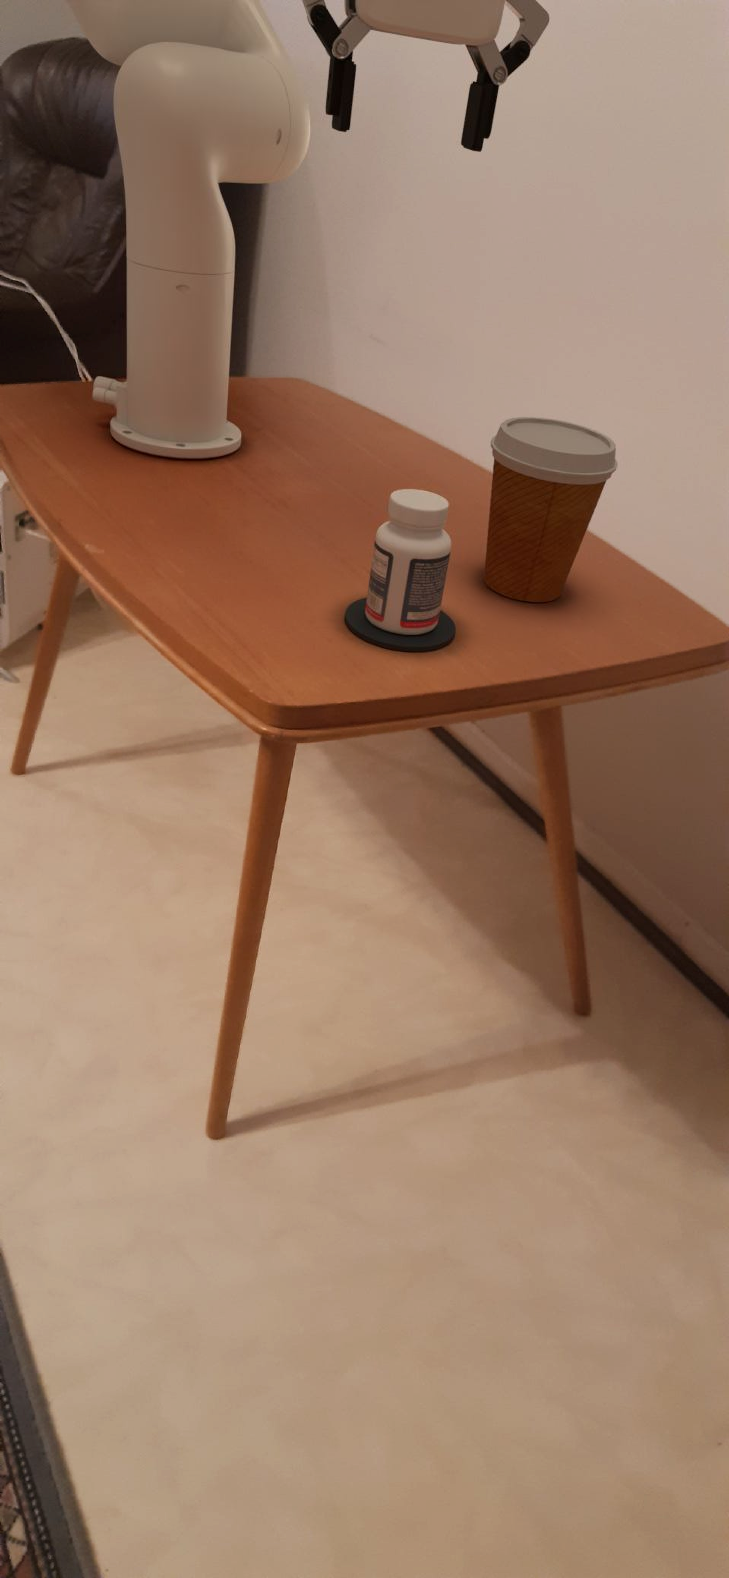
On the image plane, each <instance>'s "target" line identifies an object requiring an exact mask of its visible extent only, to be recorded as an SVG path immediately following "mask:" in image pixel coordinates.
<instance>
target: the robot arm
mask: <svg viewBox="0 0 729 1578" xmlns="http://www.w3.org/2000/svg"><path fill="white" fill-rule="evenodd" d="M301 1H302V5H303V8H304V10H305V13H306V15H307V16H306V18H307V21H308V24H309V25H310V27H311V28H312V30H313V31H314V33H315V34H316V37H317V38H318V40H319V42H320V43H321V45H322V46H323V48H324V49H325V53H326V55H328V57H329V66H328V77H327V87H326V98H325V115H327V116H332V117H331V128H332V129H333V130H335V131H338V132H342V133H347V132H348V131H350V129H351V122H352V113H353V104H354V96H355V95H354V94H355V84H356V75H357V73H356V72H357V64H356V63H355V61H353V56H354V50H355V49H356V48H357V47H358V45H359V44H360V43H361V42H362V41H363V40H364V38H365V37H366V36H367V35H368V34H369V33H370V32H371V31H374V32H379V33H385V34H390V35H396V36H402V37H408V38H413V39H420V40H426V41H432V42H436V43H437V42H438V43H443V44H448V45H449V44H450V45H462V46H463V45H465V47H466V50H467V52H468V54H469V56H470V59H471V61H472V63H473V66H474V69H475V70H476V72H477V75H476V80H475V81H474V80H473V81H472V82H471V83H470V84H469V88H468V89H469V90H468V95H467V102H466V108H465V113H464V120H463V127H462V133H461V140H460V145H461V146H462V148H464V149H466V150H469V151H472V152H478V153H481V152H482V151H483V147H484V140H489V138H490V136H491V134H492V130H493V123H494V118H495V113H496V106H497V101H498V95H499V89H500V86H502V85H504V84H505V82H506V81H507V79H508V78H509V77H510V75H512V74H513V73H514V72H515V71H516V70H517V69H518V68H519V67H520V66H521V65H523V64H524V63H525V62H526V61H527V60H528V59H529V57H530V55H531V51H532V50H533V48H534V47H535V46H536V44H537V43H538V42H539V40H540V38H541V36H542V35H543V34H544V31H545V30H546V29H547V27H548V25H549V23H550V14H549V13H548V11H547V10H546V9H545V8H544V7H543V6H542V5H541V4H540V3H539V2H538V1H537V0H344V3H343V4H344V5H343V6H344V12H345V15H346V18H345V19H344V20H343V21H342V22H341V23H340V25H338V24H337V22H336V21H335V19H334V17H333V16H332V14H331V13H330V11H329V9H328V8H327V5H326V1H325V0H301ZM66 3H67V5H68V6H69V9H70V10H71V12H72V13H73V16H74V18H75V19H76V22H77V23H78V25H79V27H80V29H81V30H82V32H83V34H84V35H85V37H86V39H87V40H88V42H89V44H90V46H91V47H92V48H93V49H94V50H95V51H96V52H97V54H99V56H101V57H102V58H103V59H105V60H106V61H107V62H110V63H112V64H114V65H116V66H119V67H120V68H119V70H118V73H117V76H116V79H115V83H114V87H113V101H112V103H113V116H114V117H113V118H114V125H115V132H116V137H117V142H118V148H119V155H120V160H121V168H122V177H123V186H124V197H125V198H124V199H125V225H126V227H125V228H126V229H125V230H126V233H125V235H126V380H125V381H123V382H121V381H117V380H116V379H114V378H109V377H106V376H101V375H99V376H96V377H95V378H94V381H93V386H92V389H93V390H92V396H91V397H92V400H93V401H94V402H97V403H101V404H105V405H112V406H113V408H115V409H116V414H115V415H114V416H113V417H112V418H111V420H110V421H109V422H110V425H109V426H110V427H109V428H110V432H109V433H110V435H111V437H113V439H114V440H115V441H116V442H118V443H119V444H121V445H122V446H125V447H127V448H130V449H132V450H135V451H138V452H141V453H145V454H148V455H152V456H153V455H154V456H157V457H159V456H160V457H165V458H174V459H195V460H196V459H198V460H199V459H211V458H217V457H218V458H219V457H223V456H226V455H230V454H232V453H234V452H235V451H237V450H238V449H239V448H241V445H242V431H241V430H240V428H239V427H238V426H237V425H235V423H233V422H231V421H229V420H228V419H227V418H228V417H227V415H228V399H229V398H228V397H229V382H230V381H229V380H230V365H231V364H230V363H231V362H230V361H231V343H232V325H233V308H234V306H233V305H234V292H235V291H234V290H235V289H234V287H235V271H236V269H235V268H236V267H235V266H236V239H235V233H234V228H233V224H232V220H231V217H230V214H229V212H228V208H227V206H226V203H225V201H224V198H223V196H222V193H221V190H220V184H221V183H232V184H234V183H235V184H271V183H276V182H277V183H278V182H280V181H283V180H285V179H287V178H289V177H290V176H291V175H293V174H294V173H295V172H296V171H297V170H298V169H299V167H300V166H301V165H302V163H303V161H304V160H305V158H306V155H307V153H308V149H309V146H310V138H311V115H310V108H309V102H308V99H307V96H306V92H305V89H304V87H303V83H302V81H301V78H300V77H299V74H298V73H297V70H296V68H295V66H294V64H293V63H292V61H291V59H290V57H289V55H288V52H287V51H286V49H285V47H284V45H283V43H282V41H281V40H280V37H279V36H278V34H277V32H276V29H274V26H273V25H272V23H271V20H270V19H269V17H268V15H267V13H266V11H265V10H264V8H263V6H262V4H261V2H260V0H66ZM505 7H506V8H508V10H509V11H511V13H512V14H513V15H514V16H515V17H516V18H517V19H518V21H519V27H518V30H517V31H516V33H515V35H514V37H513V39H512V40H511V41H510V42H508V43H507V45H505V46H504V47H503V48H502V49H501V50H499V47H498V45H497V42H496V40H495V39H496V38H497V36H498V34H499V31H500V29H501V25H502V19H503V16H504V10H505V9H504V8H505Z"/></svg>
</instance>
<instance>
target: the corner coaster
mask: <svg viewBox="0 0 729 1578" xmlns="http://www.w3.org/2000/svg"><path fill="white" fill-rule="evenodd" d="M366 600H367V597H362V598H359V599H357V600H355V601H353V602H351V603H350V604H349V605H347V607H346V609H345V612H344V623H345V625H346V627H347V628H348V630H349V631H350V632H351V633H353V634H354V635H355V636H357V638H360V639H361V640H363V641H365V642H367V643H370V644H372V645H374V646H377V647H381V648H384V649H388V650H393V651H400V652H408V653H409V652H411V653H415V652H416V653H420V652H422V653H423V652H431V651H436V650H439V649H442V648H444V647H446V646H448V645H449V644H450V643H452V641H453V640H454V638H455V636H456V632H457V631H456V629H457V628H456V623H455V622H454V620H453V618H451V617H450V615H448V614H447V613H446V612H445V611H443V610H442V609H440V614H439V618H438V623H437V625H436V627H435V628H434V629H432V630H431V631H429V632H427V633H423V634H418V635H403V634H397V633H392V632H388V631H385V630H383V629H380V628H378V627H376V626H375V625H373V624H372V623H371V622H370V621H369V620H368V619H367V617H366V614H365V608H366Z"/></svg>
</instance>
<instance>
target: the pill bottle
mask: <svg viewBox="0 0 729 1578" xmlns="http://www.w3.org/2000/svg"><path fill="white" fill-rule="evenodd" d="M449 507H450V503H449V501H448V500H447V498H445V497H443V496H441V495H440V494H437V493H435V492H431V491H428V490H423V489H416V488H403V489H397V490H394V491H393V492H391V494H390V496H389V501H388V507H387V510H386V511H387V517H388V519H389V520H388V521H385V522H384V523H382V524H381V525H380V526H379V527H378V528H377V531H376V533H375V537H374V541H373V550H372V558H371V566H370V572H369V580H368V586H367V594H366V598H367V600H366V608H365V614H366V617H367V619H368V620H369V621H370V622H371V623H372V624H373V625H375V626H376V627H378V628H380V629H383V630H385V631H388V632H392V633H397V634H403V635H418V634H423V633H427V632H429V631H431V630H432V629H434V628H435V627H436V625H437V623H438V618H439V614H440V610H441V606H442V602H443V596H444V592H445V591H444V590H445V585H446V581H447V580H446V579H447V575H448V568H449V563H450V557H451V553H452V539H451V537H450V535H449V533H448V532H447V531H445V530H444V527H445V526H446V524H447V520H448V514H449Z"/></svg>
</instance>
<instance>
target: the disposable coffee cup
mask: <svg viewBox="0 0 729 1578" xmlns="http://www.w3.org/2000/svg"><path fill="white" fill-rule="evenodd" d="M490 447H491V449H492V450H491V454H492V457H493V465H492V481H491V490H490V498H489V499H490V500H489V501H490V502H489V514H488V524H487V525H488V526H487V527H488V528H487V538H486V548H485V549H486V552H485V562H484V574H483V575H484V576H483V582H484V583H485V585H486V586H487V587H488V588H490V589H491V590H493V591H494V592H496V593H498V594H499V595H502V596H504V597H507V598H510V599H514V600H516V601H524V602H528V603H529V602H530V603H545V602H552V601H555V600H556V599H558V598H559V597H560V596H561V595H562V592H563V589H564V587H565V585H566V582H567V579H568V578H569V574H570V572H571V570H572V567H573V565H574V562H575V559H576V557H577V555H578V552H579V550H580V547H581V545H582V542H583V540H584V538H585V535H586V533H587V531H588V528H589V525H590V523H591V520H592V517H593V515H594V514H595V510H596V508H597V505H598V503H599V500H600V498H601V496H602V493H603V490H604V488H605V485H606V483H607V481H608V480H609V479H611V477H612V475H613V473H614V472H615V471H617V468H618V465H619V463H618V461H617V459H616V452H617V451H616V450H617V449H616V448H617V446H616V443H615V442H614V440H613V439H611V438H610V437H609V436H607V435H605V434H603V433H602V432H600V431H598V430H595V429H592V428H589V427H586V426H583V425H581V424H578V423H572V422H569V421H565V420H560V419H554V418H545V417H536V416H519V417H512V418H507V419H505V420H504V421H502V422H501V423H500V425H499V427H498V430H497V432H496V434H495V435H494V436H492V437H491V439H490Z"/></svg>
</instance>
